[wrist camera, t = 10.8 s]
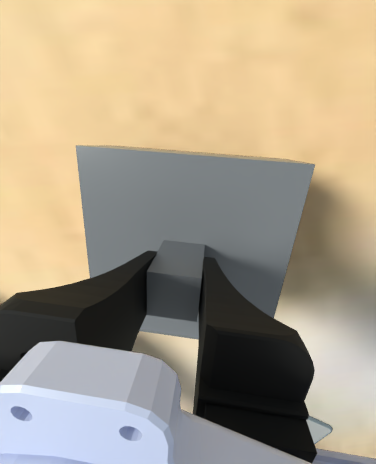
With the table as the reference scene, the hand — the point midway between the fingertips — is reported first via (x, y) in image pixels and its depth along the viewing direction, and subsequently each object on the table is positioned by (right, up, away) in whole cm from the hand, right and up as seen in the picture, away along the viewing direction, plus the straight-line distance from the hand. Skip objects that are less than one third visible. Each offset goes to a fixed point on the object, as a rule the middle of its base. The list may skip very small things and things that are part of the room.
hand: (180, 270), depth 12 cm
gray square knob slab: (+1, +2, +6) cm, 6 cm away
